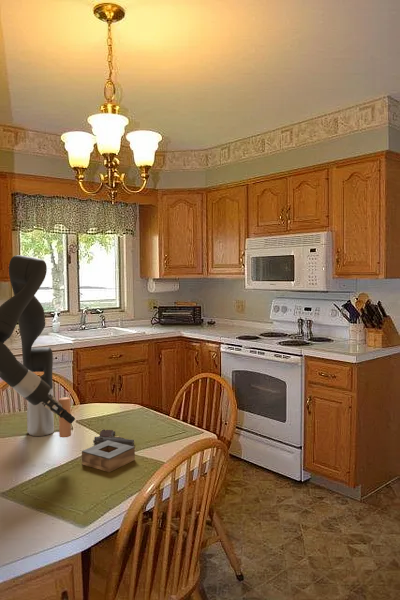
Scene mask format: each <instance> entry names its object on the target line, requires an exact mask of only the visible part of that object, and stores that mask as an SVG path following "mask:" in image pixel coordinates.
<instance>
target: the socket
mask: <svg viewBox="0 0 400 600" xmlns="http://www.w3.org/2000/svg"><path fill="white" fill-rule="evenodd" d="M135 451H136V447H135V445H134V446H130V445H125V444H121V443H117V442H113V441H109V440H107V441H105V442H102V443H100V444H98V445H95V444H94V445H93V446H91V447H89V448H86V449H83V450H81V465H83V466H86V467H90V468H93V469H97V470H101V471H104V472H107V473H111V472H113V471H115V470H117V469H119V468H121V467H124V466H125V465H128V464H130V463H131V462H133V461H135V460H136V454H135V453H136V452H135Z"/></svg>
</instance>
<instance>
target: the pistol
mask: <svg viewBox="0 0 400 600" xmlns="http://www.w3.org/2000/svg"><path fill="white" fill-rule="evenodd" d="M114 435H115V436H114ZM93 439H94V440H93V444H94V446H95V445H98V444H100V443H102V442H105V441H107V440H109V441H113V442H117V443H121V444H125V445H130V446H134V447H135V439H129V438H128V439H127V438H124V437H122V436H118V435H117V436H116V431H114V430H113V429H104V428H102V430H101V431H100V432H99V436H94V438H93Z"/></svg>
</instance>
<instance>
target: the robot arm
mask: <svg viewBox="0 0 400 600" xmlns="http://www.w3.org/2000/svg"><path fill="white" fill-rule="evenodd" d="M47 271H48V268H47V263H46V262H45V260H43V259H41V258H37V257H32V256H26V255H21V254H20V255H19V254H17V255H14V256H13V257H11V259H10V260H9V264H8V275H9V276H8V277H9V280H10V285H11V288H12V289H11V290H12V292H13V296H12V297H10V298H8V299H6V300H5V302H3V303H2V304H1V305H0V379H1V380H2V381H3V382H4V383H6V384H7V385H8V386H10V387H11V389H13V390H14V392H16V393H17V394H19V395H20V396H21V397H22V398H24V399H25V400H26V401H27V403H28V405H27V408H26V421H27V422H26V423H27V424H26V425H27V426H26V428H27V430H26V432H27V433H28V435H30V436H32V437H43V436H48V435H51V434H53V433H54V432H55V428H54V426H55V425H54V423H55V422H54V421H55V420H54V415H57V416H58V417H59V416H60V417H61V418H64V419H65V420H66V421H68V422H69V423H70V424H71V425H72V424H73V422H74V421H75V420H76V418H75V417H74V416H73V415H72V413H71V414H69V413H68V412H67V410H65V409H64V408H63V407H62V404H60V403H59V400H57V398H56V397H55V396H54V386H53V384H54V383H53V367H54V366H53V365H54V357H53V356H54V355H53V354H54V353H53V350H52V349H51V347H50V346H49V347H48V346H47V347H32V346H33V345H34V343H35V341H36V340H37V339H38V338H39V337H40V335H41V334H42V333H43V331H44V330H45V326H46V316H45V314H46V313H45V308H44V306H43V305H42V303H41V302H40V301H39V299H38V298H37V297H36V296H35V295H36V294H37V293H38V291H39V289H40V288H41V286H42V285H43V283H44V281H45V279H46V275H47ZM17 324H18V328H19V334H20V340H21V352H22V363H21V362H20V361H18V359H17V358H16V356H15V354H14V353H13V352H12V351H11V350H10V348H9V347H8V346H7V345H6V344H5V342H6V341H7V340H9V339H10V338H11V336H12V335H13V333H14V331H15V329H16V327H17ZM35 372H39V373H40V372H43V374H42V375H41V376H39V375H38V374H36V373H35ZM62 410H63V411H62ZM61 411H62V413H61V414H60V412H61Z"/></svg>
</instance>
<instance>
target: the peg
mask: <svg viewBox="0 0 400 600" xmlns="http://www.w3.org/2000/svg"><path fill="white" fill-rule="evenodd" d="M58 402H59V403H60V404H62V407H63V408H64V409H65V410H67V412H68V413H69V414H71V415H72V413H71V398H70V397H66V396H65V397H60V398H59V399H58ZM62 411H63V410H62ZM62 411H61V412H60V414H61V413H62ZM71 425H72V423H71V424H70V423H69V422H68V421H66V420H65V419H64V418H61V417H60V416H59V415H58V429H59V430H58V431H59V433H58V434H59V435H58V436H59V438H64V439H65V438H69V437H71V436H72V428H71V427H72V426H71Z"/></svg>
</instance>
